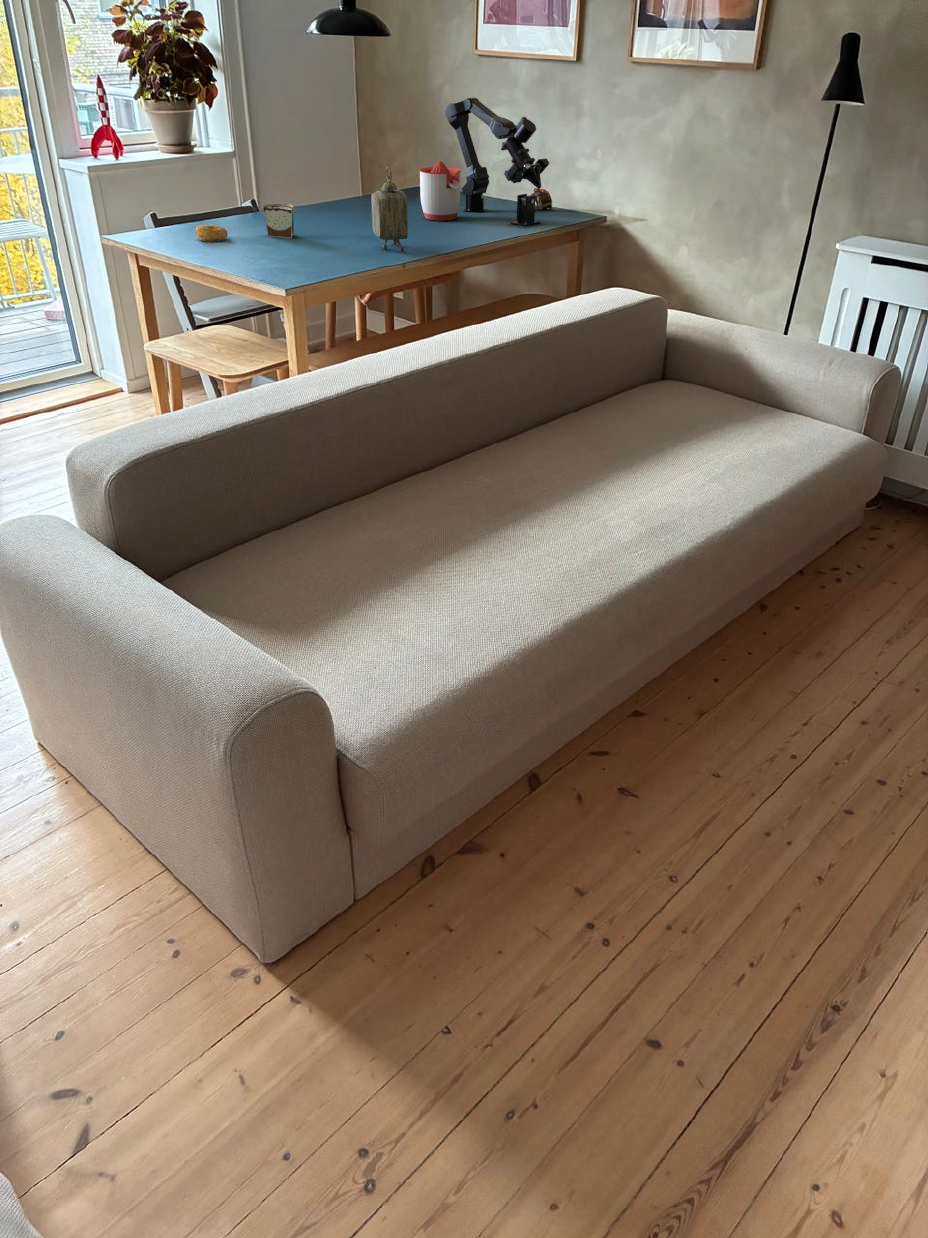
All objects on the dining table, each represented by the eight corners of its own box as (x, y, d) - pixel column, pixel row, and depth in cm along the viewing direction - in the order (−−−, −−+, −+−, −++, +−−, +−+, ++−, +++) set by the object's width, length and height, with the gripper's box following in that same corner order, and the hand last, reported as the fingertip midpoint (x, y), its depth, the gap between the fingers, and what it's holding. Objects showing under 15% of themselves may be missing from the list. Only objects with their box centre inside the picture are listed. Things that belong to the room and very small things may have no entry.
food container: (303, 235, 334) (301, 204, 328) (295, 238, 329) (293, 207, 324) (272, 232, 337) (269, 202, 332) (264, 235, 332) (261, 205, 327)
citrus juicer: (440, 224, 350) (440, 165, 339) (411, 217, 361) (410, 160, 350) (472, 219, 359) (473, 161, 348) (442, 212, 370) (442, 156, 359)
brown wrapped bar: (536, 192, 352) (535, 185, 350) (546, 193, 349) (545, 187, 348) (519, 204, 348) (518, 197, 346) (529, 206, 345) (528, 199, 343)
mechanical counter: (555, 198, 368) (554, 187, 375) (522, 194, 367) (522, 184, 374) (552, 216, 373) (551, 206, 380) (519, 213, 372) (519, 202, 379)
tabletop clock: (408, 252, 311) (406, 169, 297) (381, 254, 309) (378, 170, 295) (398, 243, 323) (396, 163, 309) (372, 245, 321) (368, 164, 307)
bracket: (525, 222, 356) (526, 192, 350) (540, 224, 352) (541, 194, 346) (510, 225, 350) (511, 195, 344) (524, 228, 346) (526, 197, 340)
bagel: (218, 243, 322) (216, 228, 319) (190, 240, 325) (188, 226, 322) (234, 237, 330) (232, 223, 327) (207, 235, 333) (205, 220, 330)
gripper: (521, 164, 361) (543, 199, 361) (489, 169, 350) (511, 205, 350) (538, 143, 353) (560, 179, 352) (506, 148, 341) (528, 185, 341)
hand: (540, 187), depth 349 cm, fingers closed
